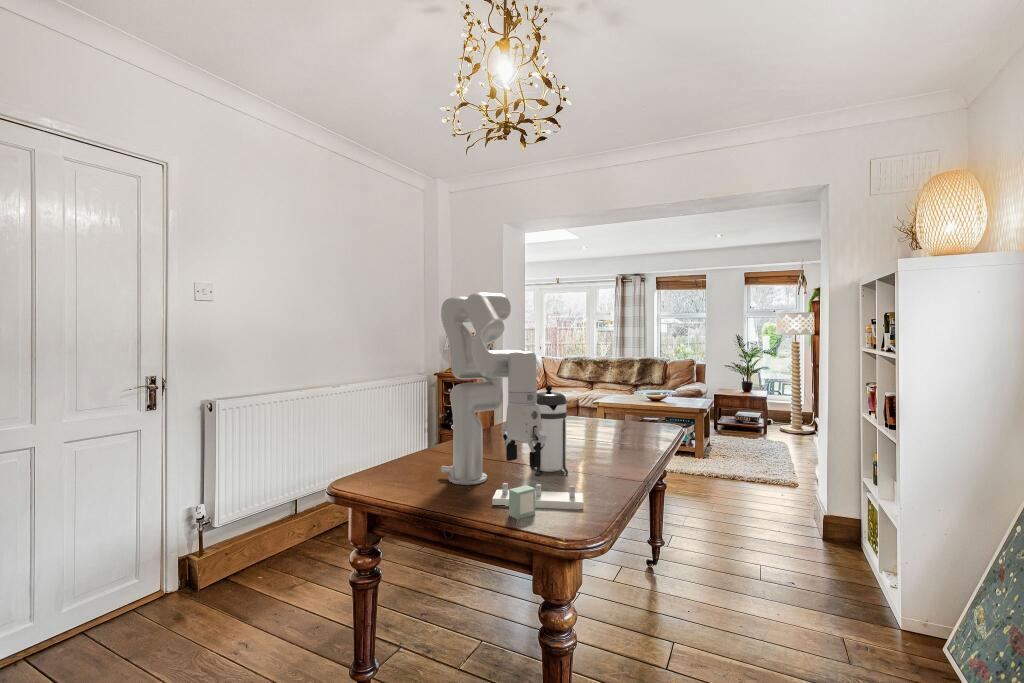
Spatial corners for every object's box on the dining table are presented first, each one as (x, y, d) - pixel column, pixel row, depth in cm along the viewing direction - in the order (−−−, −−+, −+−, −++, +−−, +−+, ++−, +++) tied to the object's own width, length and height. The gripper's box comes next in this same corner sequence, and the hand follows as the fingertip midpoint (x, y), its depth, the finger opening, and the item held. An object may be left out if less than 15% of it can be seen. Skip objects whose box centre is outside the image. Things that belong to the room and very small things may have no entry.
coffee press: (580, 470, 174) (580, 384, 174) (552, 480, 162) (553, 388, 162) (541, 461, 186) (541, 381, 185) (513, 470, 174) (513, 384, 173)
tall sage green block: (517, 519, 129) (517, 492, 128) (509, 515, 131) (509, 489, 131) (535, 514, 132) (535, 488, 132) (526, 510, 135) (526, 485, 135)
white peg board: (492, 505, 139) (492, 487, 139) (496, 496, 147) (496, 479, 147) (583, 509, 136) (583, 491, 136) (582, 499, 144) (582, 482, 144)
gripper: (555, 400, 127) (556, 467, 127) (513, 394, 140) (514, 455, 140) (532, 402, 122) (533, 472, 122) (491, 396, 136) (492, 459, 136)
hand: (523, 463), depth 131 cm, fingers open, 9 cm apart
